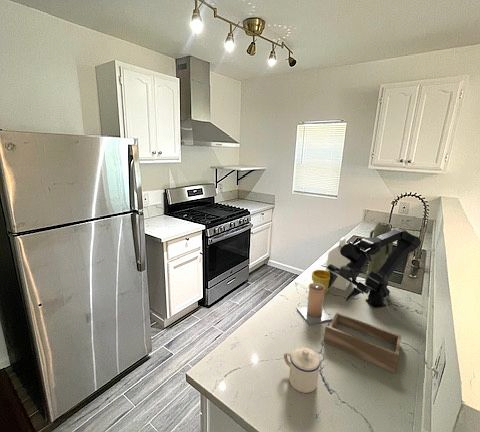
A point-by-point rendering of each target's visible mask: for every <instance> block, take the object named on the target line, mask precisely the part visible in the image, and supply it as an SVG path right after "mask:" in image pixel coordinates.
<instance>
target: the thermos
mask: <svg viewBox="0 0 480 432" xmlns="http://www.w3.org/2000/svg"><path fill="white" fill-rule="evenodd" d="M391 228H392V227H391V225H390V224H388V223H385V222H378V223H376V225H375V227H374V229H373V230H371V231H370V232H369V237H378V236H380V235H382V234H385V233H387V232H390V231H392V229H391ZM393 246H394V242H392V243H390V244H388V245H386V246H383V247H382V248H381V250H380V251H379V252H377V253H376V254H374V255H370V254H369V255H370V256H371V260H372V261H371V262H370V261H368V267H367V271H366V272H365V278H364V280H365V282H364V285H365V286H367V285H366V279H367V277H368V276H369V275H370V273H371V272H372V271H374V272H377V271H379V270H380V268H381V267H382V266H383V264H384V263H385V262H386V261H387V259H388V258H389V256H390V255H391V254H392V250H393Z"/></svg>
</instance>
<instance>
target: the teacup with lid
mask: <svg viewBox="0 0 480 432" xmlns="http://www.w3.org/2000/svg"><path fill="white" fill-rule="evenodd" d="M288 356H289V359H288ZM283 360H284V363H285V364H286V365H287V366H288V367H289V374H288V375H289V377H288V380H289V383H290V385H291V387H292V388H294V390H296V391H298V392H300V393H304V394H308V393H312V392H314V391H315V390H316V389H317V386H318V380H319V379H318V378H319V369H320V365H321V360H320V357H319V355H318V354H317V353H316V352H315V351H314V350H312V349H310V348H307V347H303V346H301V347H296V348H294V349H293V350H292V351H286V352H284V354H283Z"/></svg>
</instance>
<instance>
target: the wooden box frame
mask: <svg viewBox="0 0 480 432" xmlns="http://www.w3.org/2000/svg"><path fill="white" fill-rule="evenodd" d="M338 324H339V325H342V326H345V327H348V328H351V329H353V330H354V331H355V330H356V331H358V332H360V333H363V334H365V335H369V336H371V337H373V338H376V339H379V340H381V341H384V342H388V343H389V344H392V345H394V346H395V350H391V349H389V348H386V347H382V346H381V345H377V344H375V343H373V342H370V341H368V340H365V339H363V338H360V337H358V336H354V335H352V334H350V333H348V332H345V331H343V330H340V329H339V328H336V326H337V325H338ZM401 342H402V335H401V334H397V333H394V332H392V331H388V330H387V329H383V328H380V327H378V326H375V325H372V324H369V323H367V322H364V321H361V320H358V319H355V318H354V317H353V318H352V317H350V316H347V315H345V314H343V313H342V314H341V313H339V312H336V313H335V315H334V316H333V318H332V321H330V323H329V325H327V324H326V325H325V328H324V336H323V343H325V344H327V345H329V346H332V347H333V348H336V349H338V350H341V351H343V352H345V353H348V354H350V355H353V356H354V357H357V358H360V359H362V360H364V361H367V362H369V363H371V364H374V365H375V366H378V367H380V368H382V369H384V370H388V371H390V372H391V373H395V374H396V371H397V366H398V362H399V357H400V347H401Z"/></svg>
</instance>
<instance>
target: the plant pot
mask: <svg viewBox="0 0 480 432" xmlns="http://www.w3.org/2000/svg"><path fill="white" fill-rule="evenodd" d="M311 280H312V283H319V284H322V285H323V286H324V287H325V291H324V295H326V294H327V293H328V291H329V290H330V288H328V285H329V281H330V272H328V271H326V269H325V270H324V269H316V270H313V271H312V273H311Z"/></svg>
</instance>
